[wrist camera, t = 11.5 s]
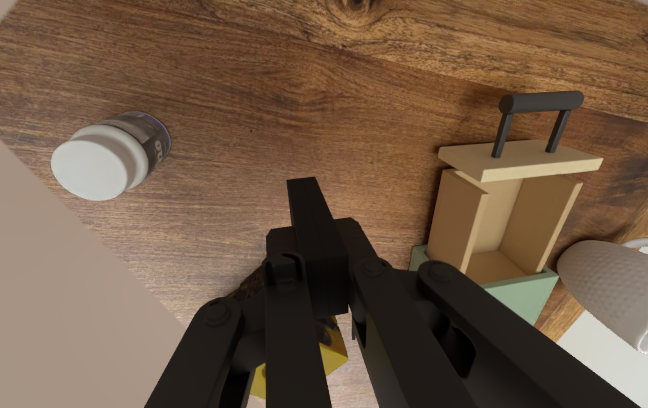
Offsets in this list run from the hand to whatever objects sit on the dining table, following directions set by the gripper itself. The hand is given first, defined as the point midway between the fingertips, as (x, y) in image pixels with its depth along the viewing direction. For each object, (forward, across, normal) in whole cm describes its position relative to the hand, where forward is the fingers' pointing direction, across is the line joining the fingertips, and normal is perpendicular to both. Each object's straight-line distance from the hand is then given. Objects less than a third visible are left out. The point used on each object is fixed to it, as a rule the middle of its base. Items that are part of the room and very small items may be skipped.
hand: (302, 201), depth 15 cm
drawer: (+12, +22, -7) cm, 26 cm away
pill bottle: (+14, -12, +1) cm, 18 cm away
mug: (+14, +45, -23) cm, 52 cm away
